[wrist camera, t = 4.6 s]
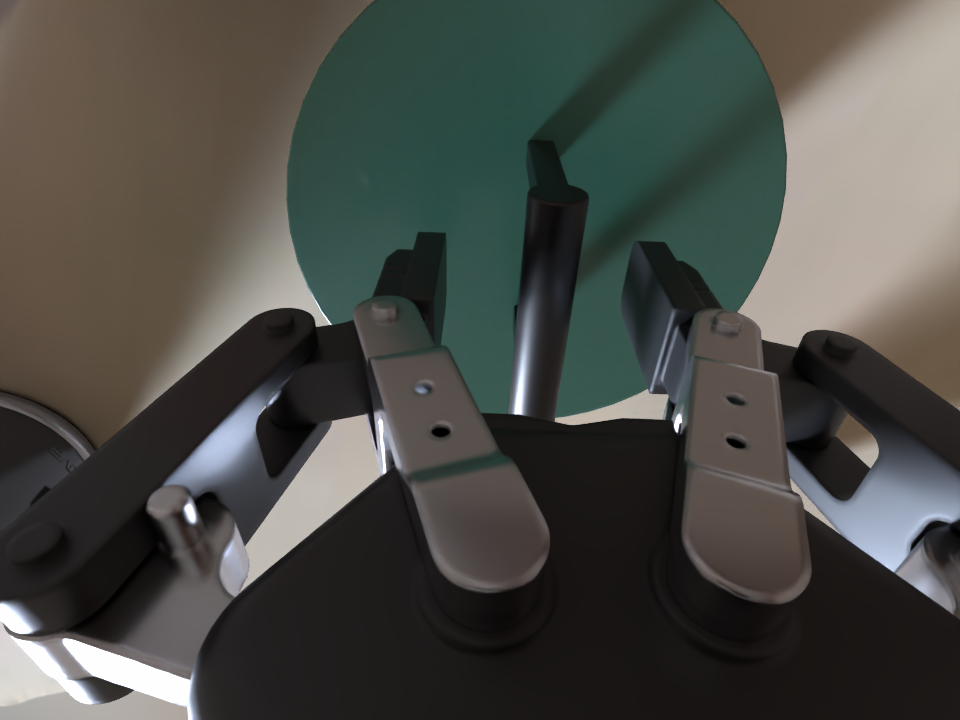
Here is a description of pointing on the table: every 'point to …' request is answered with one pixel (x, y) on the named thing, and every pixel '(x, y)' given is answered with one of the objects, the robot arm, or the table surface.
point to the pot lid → (537, 175)
